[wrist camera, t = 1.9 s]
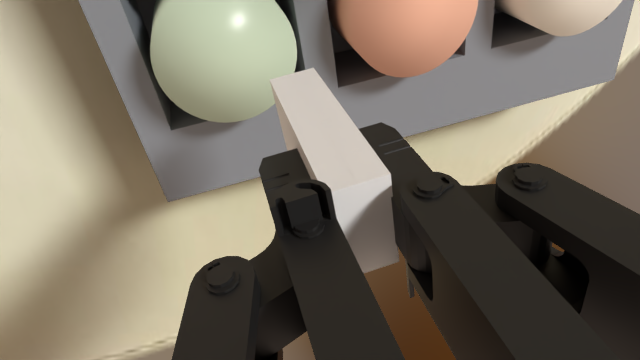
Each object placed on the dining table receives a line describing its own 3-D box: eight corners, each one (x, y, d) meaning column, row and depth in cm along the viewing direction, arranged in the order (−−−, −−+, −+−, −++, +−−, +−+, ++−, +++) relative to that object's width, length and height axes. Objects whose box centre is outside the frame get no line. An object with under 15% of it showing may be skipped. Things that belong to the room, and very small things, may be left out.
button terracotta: (315, -63, 22) (343, -48, 18) (434, -88, 22) (483, -78, 19) (332, 58, 25) (358, 90, 22) (433, 33, 26) (474, 60, 23)
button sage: (133, -25, 21) (125, 0, 17) (264, -52, 21) (282, -34, 18) (177, 96, 24) (178, 137, 21) (287, 69, 25) (307, 104, 22)
